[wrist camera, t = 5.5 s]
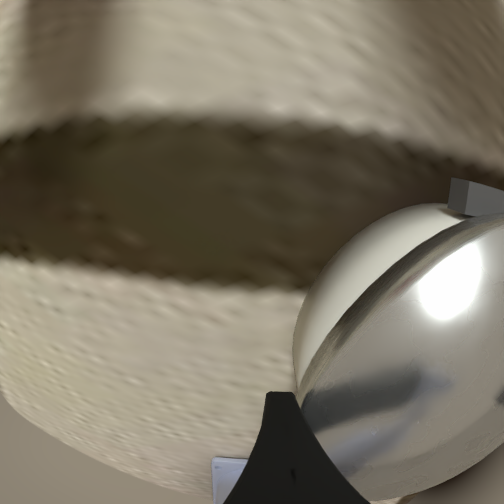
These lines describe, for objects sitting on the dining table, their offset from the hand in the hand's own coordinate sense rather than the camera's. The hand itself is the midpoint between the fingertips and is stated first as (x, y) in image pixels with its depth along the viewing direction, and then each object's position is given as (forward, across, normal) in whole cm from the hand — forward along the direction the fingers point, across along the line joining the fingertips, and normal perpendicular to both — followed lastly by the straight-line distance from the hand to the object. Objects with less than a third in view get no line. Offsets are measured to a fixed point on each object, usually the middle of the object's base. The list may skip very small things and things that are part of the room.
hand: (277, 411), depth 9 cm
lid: (+1, -8, 0) cm, 8 cm away
